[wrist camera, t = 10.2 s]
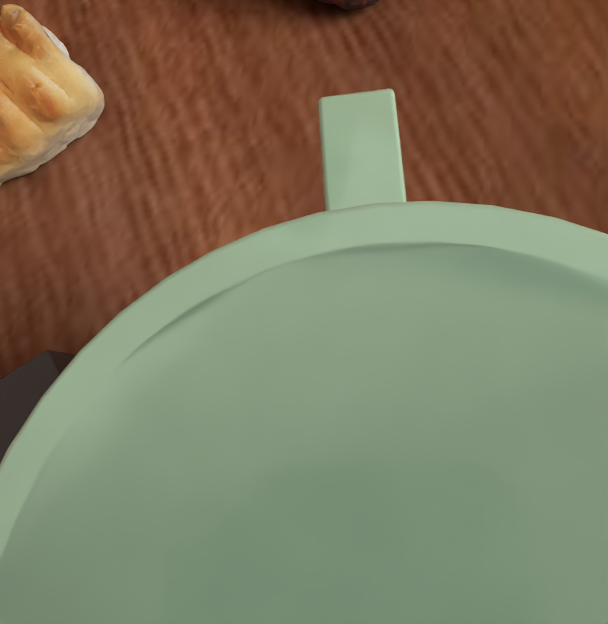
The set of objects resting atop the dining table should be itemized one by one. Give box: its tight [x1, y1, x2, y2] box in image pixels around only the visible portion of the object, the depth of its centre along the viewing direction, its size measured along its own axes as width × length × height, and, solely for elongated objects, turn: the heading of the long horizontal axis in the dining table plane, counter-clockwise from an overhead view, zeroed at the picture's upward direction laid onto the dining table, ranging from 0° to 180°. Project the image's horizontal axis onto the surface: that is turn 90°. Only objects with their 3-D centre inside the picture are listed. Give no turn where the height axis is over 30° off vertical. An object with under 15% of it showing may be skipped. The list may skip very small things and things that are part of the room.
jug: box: [0, 89, 608, 624], centre depth 8 cm, size 9×6×10 cm
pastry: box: [0, 4, 105, 186], centre depth 22 cm, size 9×7×4 cm
